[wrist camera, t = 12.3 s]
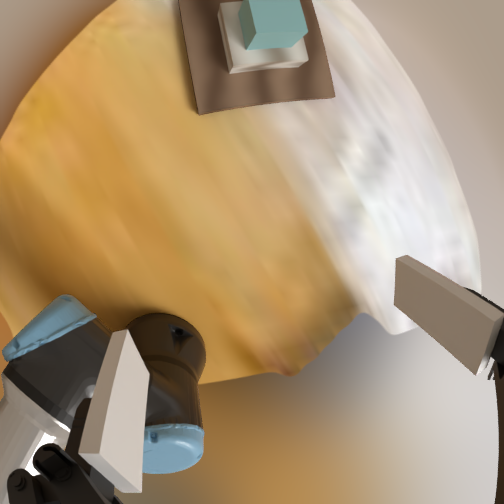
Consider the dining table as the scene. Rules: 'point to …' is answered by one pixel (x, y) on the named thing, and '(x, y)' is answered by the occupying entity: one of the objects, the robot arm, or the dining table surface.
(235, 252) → the dining table surface
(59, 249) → the dining table surface
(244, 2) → the cube
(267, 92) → the base
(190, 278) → the dining table surface
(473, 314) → the robot arm
